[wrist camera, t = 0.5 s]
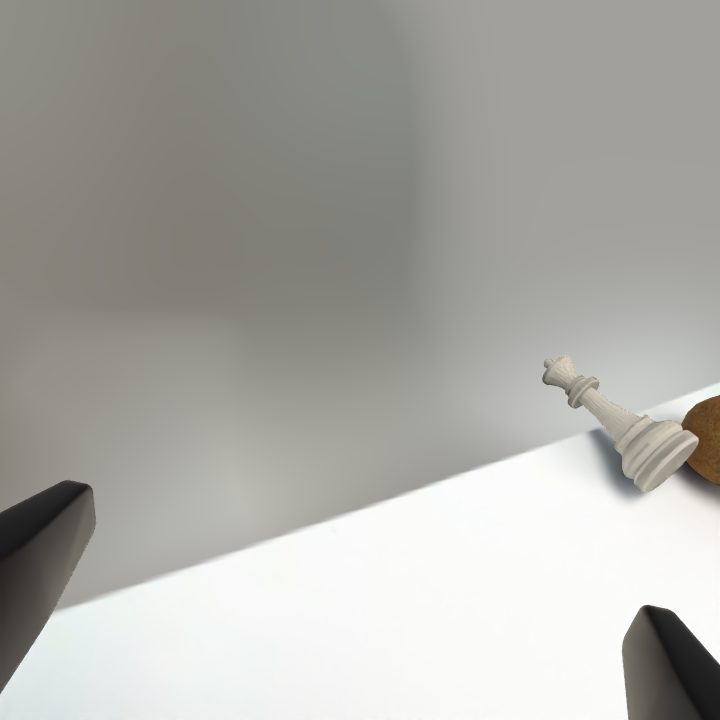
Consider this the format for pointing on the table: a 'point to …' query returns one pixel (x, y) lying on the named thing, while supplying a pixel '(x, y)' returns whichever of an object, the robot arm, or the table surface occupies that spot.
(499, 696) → the table surface
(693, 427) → the fruit
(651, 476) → the chess piece
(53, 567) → the robot arm
